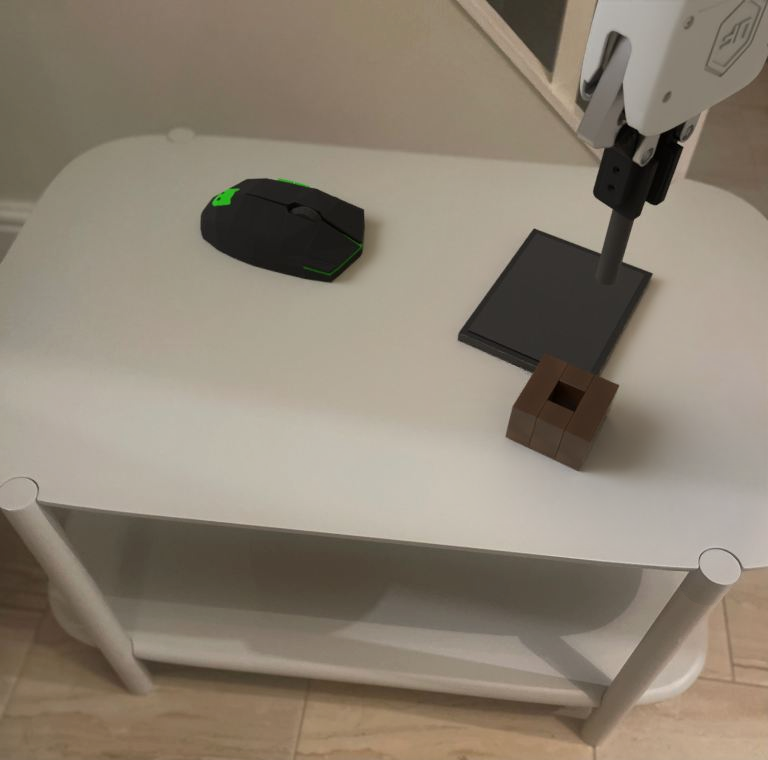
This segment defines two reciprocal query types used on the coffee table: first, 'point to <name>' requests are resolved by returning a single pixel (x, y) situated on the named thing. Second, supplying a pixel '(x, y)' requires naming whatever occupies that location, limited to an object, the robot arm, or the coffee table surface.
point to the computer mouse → (285, 228)
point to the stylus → (613, 249)
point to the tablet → (554, 306)
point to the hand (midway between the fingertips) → (627, 198)
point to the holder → (561, 411)
